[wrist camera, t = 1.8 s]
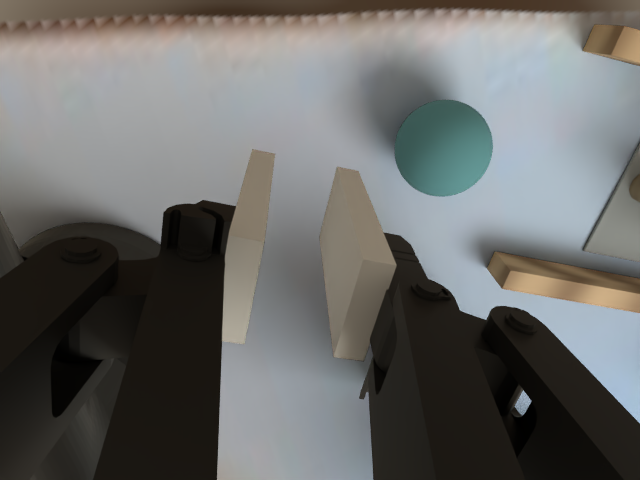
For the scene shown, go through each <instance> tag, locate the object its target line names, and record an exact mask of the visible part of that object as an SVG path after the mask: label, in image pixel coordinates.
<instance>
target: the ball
mask: <svg viewBox="0 0 640 480" xmlns="http://www.w3.org/2000/svg"><path fill="white" fill-rule="evenodd" d="M492 149H493V143H492V136H491V132H490V129H489V127H488V125H487V123H486V121H485V119H484V118H483V117H482V116H481V115H480V114H479V113H478V112H477V111H476V110H475V109H473V108H472V107H471V106H469V105H467V104H465V103H462V102H458V101H454V100H439V101H433V102H430V103H427V104H425V105H423V106H421V107H419V108H418V109H416V110H415V111H414V112H412V113H411V114H410V115H409V116H408V117H407V119H406V120H405V121H404V123H403V124H402V125H401V127H400V129H399V131H398V134H397V137H396V141H395V159H396V164H397V167H398V169H399V171H400V173H401V175H402V176H403V178H404V179H405V180H406V181H407V182H408V183H409V184H410V185H411V186H412V187H413V188H415V189H416V190H418V191H420V192H422V193H425V194H428V195H432V196H451V195H455V194H458V193H461V192H463V191H465V190H467V189H468V188H470V187H472V186H473V185H474V184H475V183H476V182H477V181H478V180H479V179H480V178H481V177H482V176H483V174H484V173H485V171H486V170H487V167H488V165H489V163H490V160H491V156H492Z"/></svg>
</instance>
